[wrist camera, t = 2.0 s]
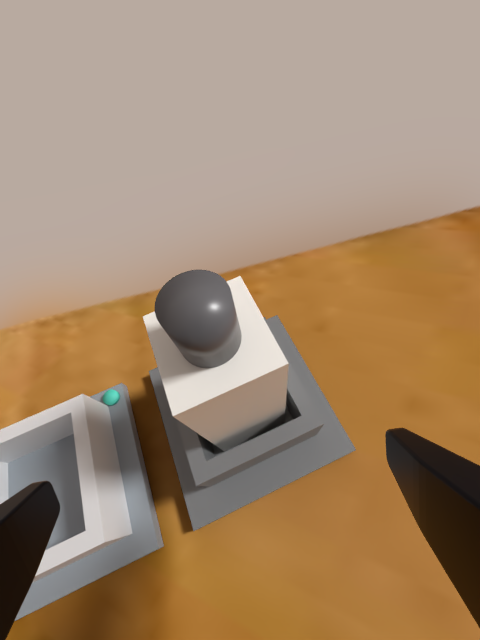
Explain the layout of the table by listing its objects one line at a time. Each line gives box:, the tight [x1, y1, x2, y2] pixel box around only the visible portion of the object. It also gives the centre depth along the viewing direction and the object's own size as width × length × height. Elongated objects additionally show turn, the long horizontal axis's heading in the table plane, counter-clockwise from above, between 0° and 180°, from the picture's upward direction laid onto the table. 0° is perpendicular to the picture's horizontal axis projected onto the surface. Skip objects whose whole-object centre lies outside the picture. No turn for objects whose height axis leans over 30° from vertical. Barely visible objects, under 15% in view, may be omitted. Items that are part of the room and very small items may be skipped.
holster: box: [149, 315, 356, 531], centre depth 18 cm, size 10×10×4 cm
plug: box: [143, 270, 289, 451], centre depth 14 cm, size 4×4×12 cm
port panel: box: [0, 383, 164, 621], centre depth 17 cm, size 10×10×4 cm
